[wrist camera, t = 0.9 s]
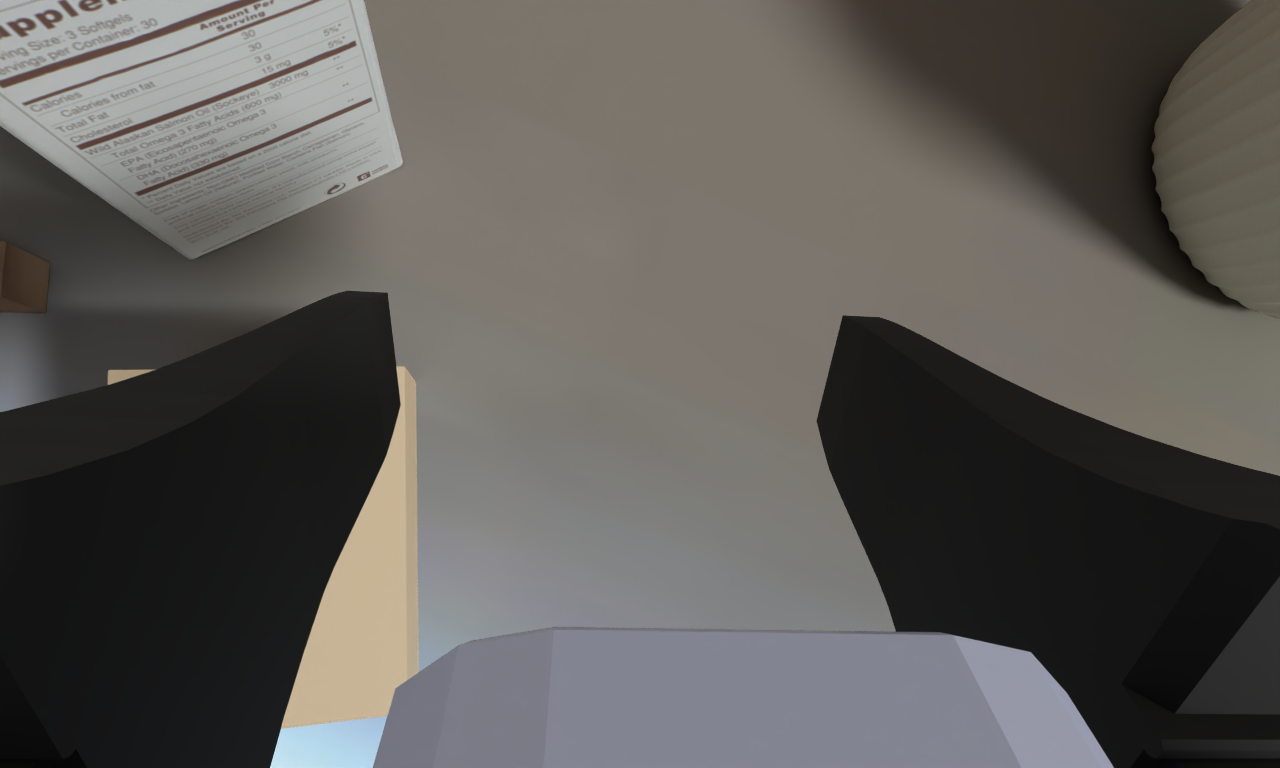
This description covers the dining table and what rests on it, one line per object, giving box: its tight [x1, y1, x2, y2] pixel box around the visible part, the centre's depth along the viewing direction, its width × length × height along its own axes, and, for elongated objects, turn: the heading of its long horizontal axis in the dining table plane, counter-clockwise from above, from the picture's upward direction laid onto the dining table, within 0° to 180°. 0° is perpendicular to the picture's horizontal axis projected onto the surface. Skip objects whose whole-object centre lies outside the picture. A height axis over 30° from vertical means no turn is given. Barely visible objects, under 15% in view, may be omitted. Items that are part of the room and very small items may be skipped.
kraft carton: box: [108, 366, 419, 729], centre depth 20 cm, size 9×7×4 cm
